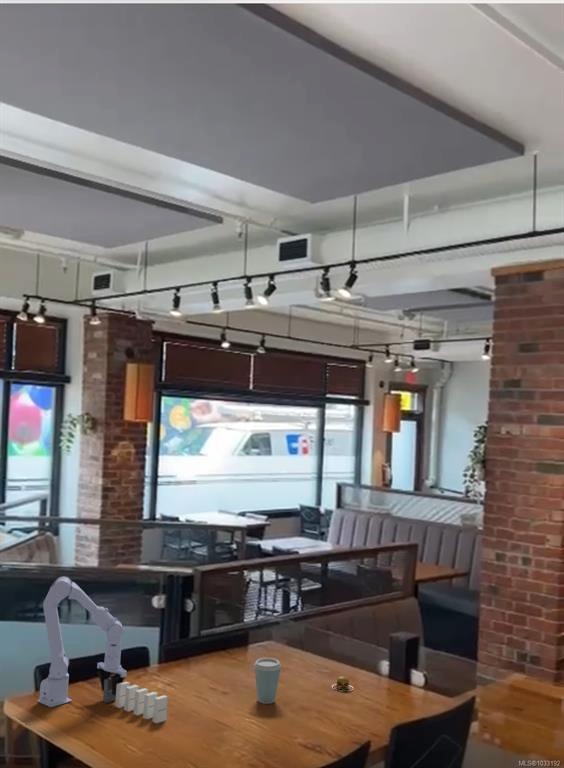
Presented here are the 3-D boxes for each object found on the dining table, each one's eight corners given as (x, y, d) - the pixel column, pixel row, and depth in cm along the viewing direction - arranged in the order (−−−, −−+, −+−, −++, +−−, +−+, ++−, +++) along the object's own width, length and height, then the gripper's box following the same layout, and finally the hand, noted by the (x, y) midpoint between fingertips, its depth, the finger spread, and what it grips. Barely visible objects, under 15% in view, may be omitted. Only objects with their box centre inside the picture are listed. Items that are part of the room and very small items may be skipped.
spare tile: (106, 702, 280) (108, 680, 280) (102, 701, 281) (104, 679, 281) (116, 700, 283) (117, 678, 284) (112, 698, 284) (114, 676, 285)
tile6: (156, 723, 263) (158, 699, 263) (152, 721, 264) (154, 698, 265) (166, 720, 266) (167, 696, 267) (162, 718, 268) (163, 695, 268)
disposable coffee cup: (276, 707, 285) (278, 666, 287) (248, 703, 288) (250, 663, 289) (281, 698, 296) (284, 658, 297) (254, 694, 298) (257, 655, 299)
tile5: (146, 719, 266) (148, 695, 266) (142, 717, 267) (144, 694, 268) (156, 716, 269) (158, 693, 270) (152, 714, 271) (154, 691, 271)
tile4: (137, 715, 269) (138, 692, 270) (133, 714, 270) (135, 690, 271) (146, 712, 272) (148, 689, 273) (143, 710, 274) (144, 688, 274)
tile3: (127, 711, 272) (129, 688, 273) (124, 710, 273) (125, 687, 274) (137, 708, 276) (139, 686, 276) (133, 707, 277) (135, 684, 277)
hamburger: (358, 687, 317) (359, 673, 317) (355, 696, 305) (356, 682, 306) (329, 683, 319) (330, 670, 320) (325, 692, 308) (326, 678, 308)
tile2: (118, 708, 275) (120, 685, 276) (115, 706, 276) (116, 683, 277) (128, 705, 279) (130, 682, 279) (124, 703, 280) (126, 681, 281)
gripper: (134, 657, 282) (131, 694, 281) (108, 648, 291) (106, 685, 290) (119, 660, 276) (116, 699, 275) (93, 652, 285) (91, 689, 284)
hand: (110, 692), depth 282 cm, fingers open, 5 cm apart
